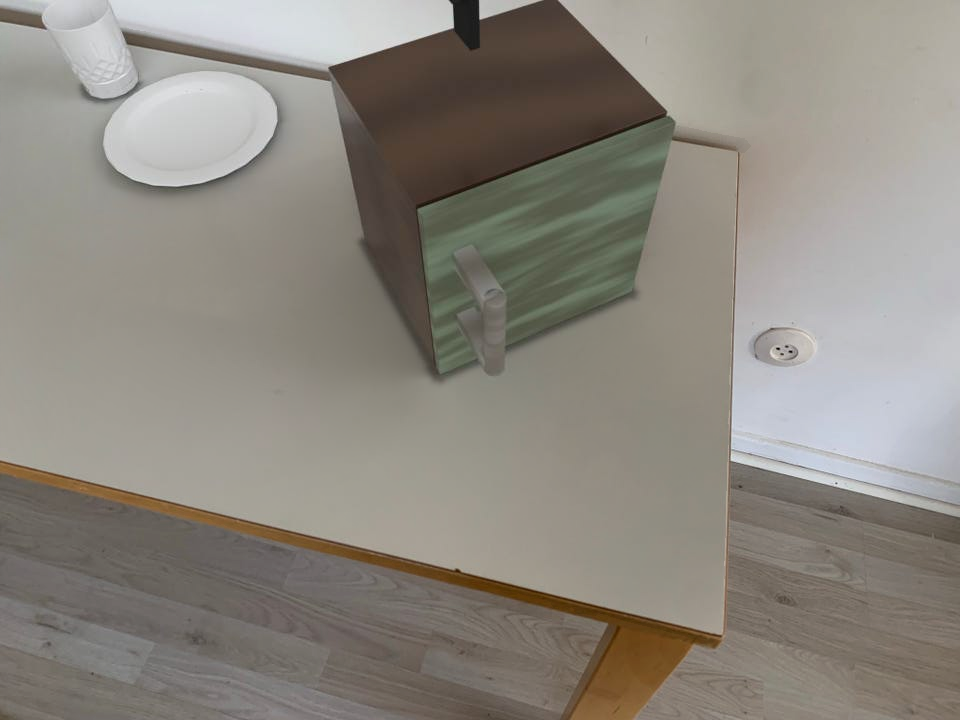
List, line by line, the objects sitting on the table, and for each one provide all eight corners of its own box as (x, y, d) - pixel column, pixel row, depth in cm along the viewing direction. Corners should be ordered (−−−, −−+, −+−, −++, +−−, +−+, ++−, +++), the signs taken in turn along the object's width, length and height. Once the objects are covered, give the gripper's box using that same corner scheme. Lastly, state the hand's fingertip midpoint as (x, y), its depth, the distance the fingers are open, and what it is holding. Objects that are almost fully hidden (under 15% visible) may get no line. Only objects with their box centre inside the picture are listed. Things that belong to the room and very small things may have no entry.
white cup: (89, 110, 93) (49, 38, 84) (74, 76, 96) (35, 4, 88) (150, 89, 95) (117, 17, 86) (134, 57, 98) (100, -15, 90)
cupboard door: (667, 337, 73) (726, 173, 54) (469, 427, 68) (461, 279, 49) (626, 285, 76) (669, 114, 58) (435, 367, 71) (416, 208, 53)
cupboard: (625, 284, 77) (668, 111, 58) (434, 366, 71) (415, 204, 53) (540, 176, 85) (554, -4, 67) (365, 242, 80) (327, 66, 62)
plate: (243, 207, 83) (238, 196, 82) (76, 182, 86) (69, 171, 84) (303, 91, 94) (301, 79, 93) (154, 72, 97) (149, 60, 95)
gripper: (737, -441, 41) (662, -54, 59) (312, -374, 35) (373, 33, 53) (828, -410, 37) (719, -7, 55) (371, -330, 31) (415, 92, 49)
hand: (549, 13), depth 54 cm, fingers open, 13 cm apart
